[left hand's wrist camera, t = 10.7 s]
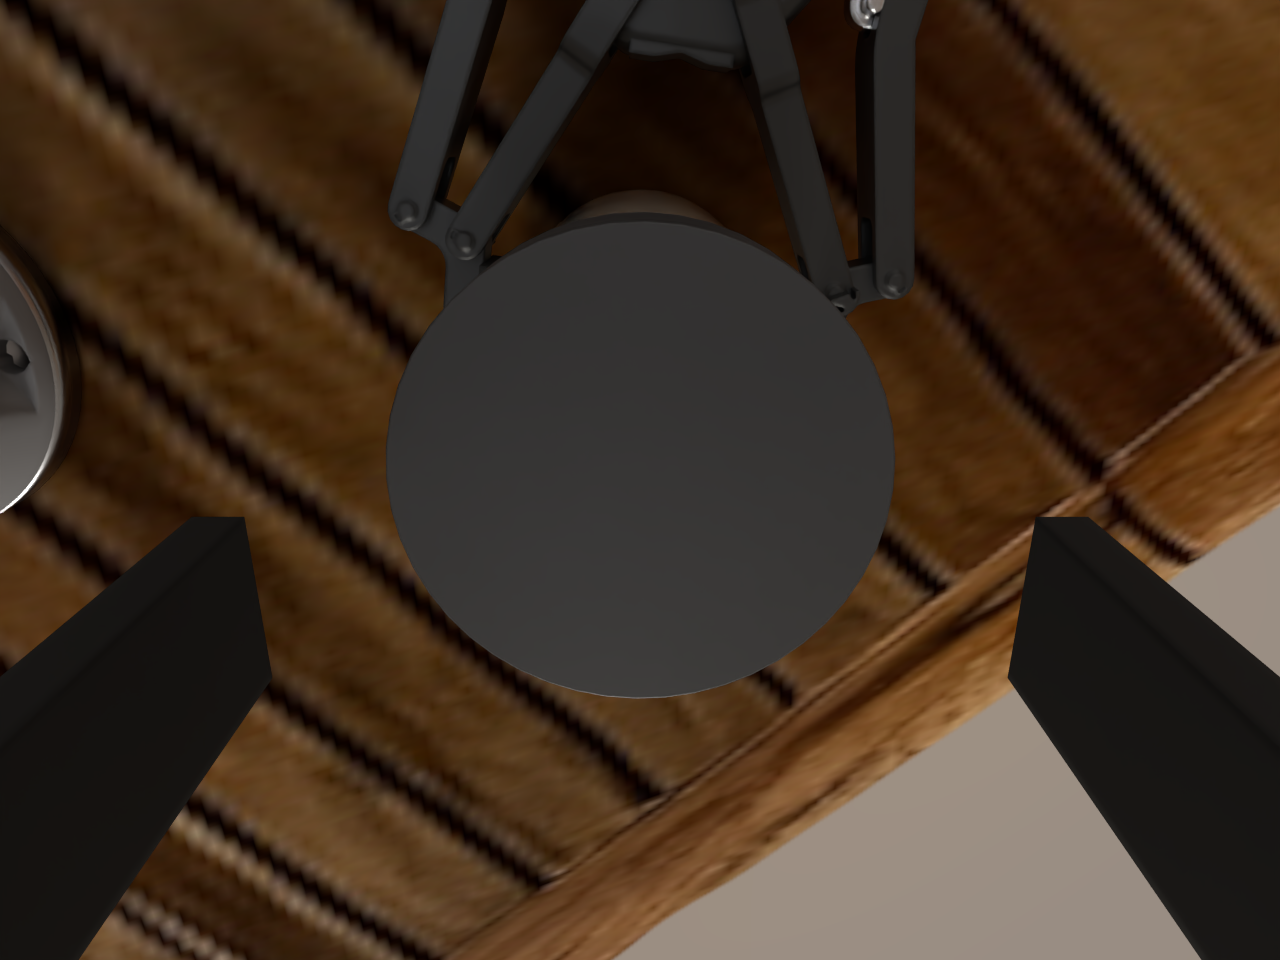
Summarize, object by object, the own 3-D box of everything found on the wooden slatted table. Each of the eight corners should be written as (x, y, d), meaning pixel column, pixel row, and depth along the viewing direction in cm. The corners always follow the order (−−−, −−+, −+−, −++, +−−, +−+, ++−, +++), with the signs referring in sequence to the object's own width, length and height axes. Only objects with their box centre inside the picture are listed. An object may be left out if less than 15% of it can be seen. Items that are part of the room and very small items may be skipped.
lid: (560, 707, 22) (552, 766, 20) (320, 359, 19) (280, 386, 17) (937, 530, 20) (971, 575, 18) (743, 115, 17) (757, 111, 15)
